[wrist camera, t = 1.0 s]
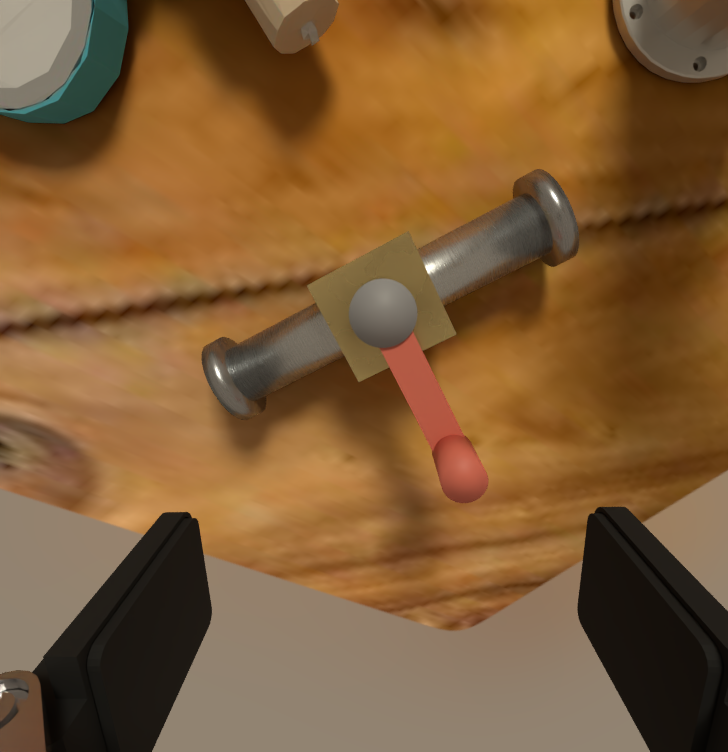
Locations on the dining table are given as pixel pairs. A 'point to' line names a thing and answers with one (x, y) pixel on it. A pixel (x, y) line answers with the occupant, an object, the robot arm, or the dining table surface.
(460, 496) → the lever
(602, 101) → the dining table surface
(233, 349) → the valve body
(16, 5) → the butterfly valve
